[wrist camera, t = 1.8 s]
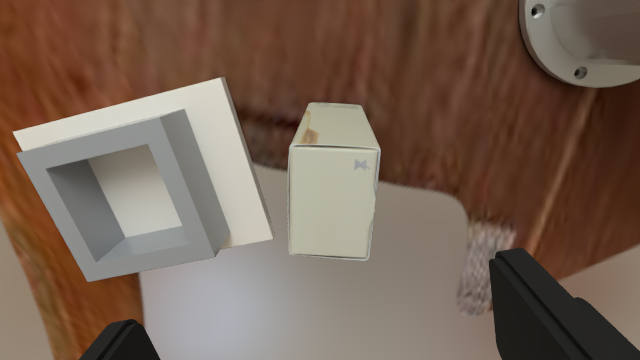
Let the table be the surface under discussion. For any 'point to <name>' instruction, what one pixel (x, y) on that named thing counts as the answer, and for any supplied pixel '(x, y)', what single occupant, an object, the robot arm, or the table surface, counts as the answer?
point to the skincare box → (332, 183)
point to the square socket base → (148, 181)
